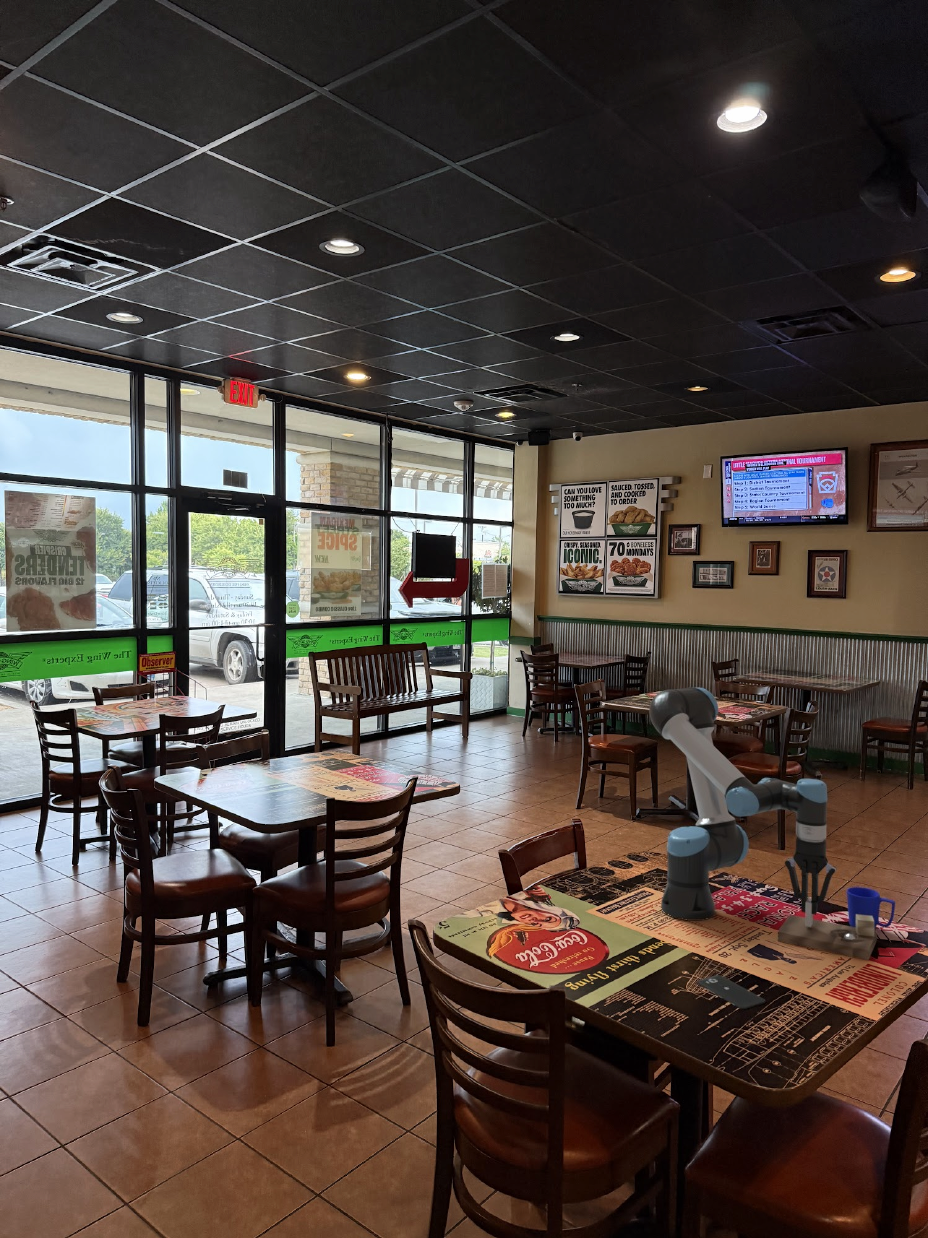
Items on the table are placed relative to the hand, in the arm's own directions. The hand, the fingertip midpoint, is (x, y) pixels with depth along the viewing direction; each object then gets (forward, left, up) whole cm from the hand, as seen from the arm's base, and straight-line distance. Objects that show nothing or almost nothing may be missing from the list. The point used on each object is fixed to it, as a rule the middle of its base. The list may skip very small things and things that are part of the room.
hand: (808, 924), depth 229 cm
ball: (+10, 0, -2) cm, 10 cm away
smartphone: (-9, -43, -4) cm, 44 cm away
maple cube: (+13, +4, -1) cm, 14 cm away
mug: (+13, +14, -4) cm, 20 cm away
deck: (+5, 0, -3) cm, 6 cm away
